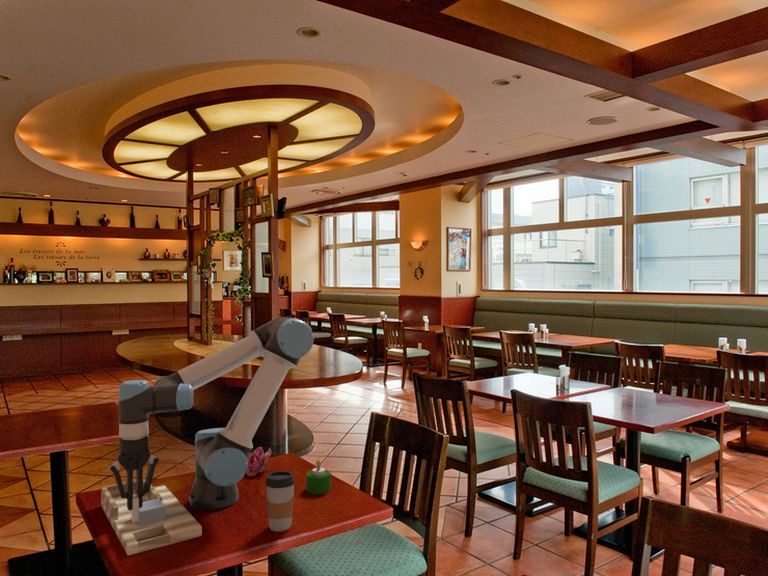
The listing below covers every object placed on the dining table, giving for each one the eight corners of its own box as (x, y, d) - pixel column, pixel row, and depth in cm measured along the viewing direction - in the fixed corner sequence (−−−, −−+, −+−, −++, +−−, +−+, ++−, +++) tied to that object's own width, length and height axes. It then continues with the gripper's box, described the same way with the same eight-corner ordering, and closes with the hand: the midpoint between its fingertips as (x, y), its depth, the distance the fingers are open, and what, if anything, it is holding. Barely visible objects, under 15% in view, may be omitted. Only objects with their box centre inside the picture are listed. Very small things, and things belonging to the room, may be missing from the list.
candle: (335, 488, 188) (335, 459, 188) (320, 496, 181) (320, 465, 181) (316, 483, 193) (316, 455, 192) (301, 490, 186) (301, 461, 185)
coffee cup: (267, 521, 162) (267, 470, 161) (295, 520, 162) (295, 469, 162) (263, 534, 153) (263, 480, 153) (293, 533, 154) (293, 479, 154)
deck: (101, 506, 172) (101, 487, 172) (164, 492, 184) (164, 474, 184) (127, 555, 141) (127, 532, 141) (201, 535, 152) (201, 514, 152)
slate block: (133, 517, 158) (133, 503, 158) (159, 511, 162) (159, 498, 162) (139, 526, 152) (139, 512, 152) (165, 519, 157) (165, 505, 157)
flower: (249, 486, 198) (234, 462, 200) (258, 479, 208) (245, 456, 210) (274, 469, 198) (259, 445, 199) (282, 462, 207) (268, 439, 209)
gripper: (155, 429, 160) (155, 509, 160) (105, 437, 152) (106, 521, 153) (161, 435, 154) (162, 518, 154) (111, 443, 146) (112, 531, 147)
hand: (134, 520), depth 154 cm, fingers closed
